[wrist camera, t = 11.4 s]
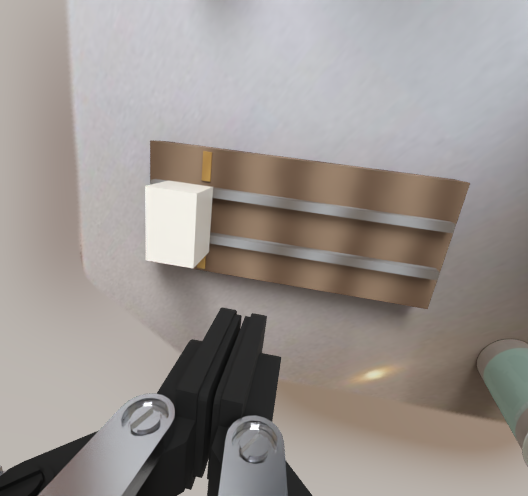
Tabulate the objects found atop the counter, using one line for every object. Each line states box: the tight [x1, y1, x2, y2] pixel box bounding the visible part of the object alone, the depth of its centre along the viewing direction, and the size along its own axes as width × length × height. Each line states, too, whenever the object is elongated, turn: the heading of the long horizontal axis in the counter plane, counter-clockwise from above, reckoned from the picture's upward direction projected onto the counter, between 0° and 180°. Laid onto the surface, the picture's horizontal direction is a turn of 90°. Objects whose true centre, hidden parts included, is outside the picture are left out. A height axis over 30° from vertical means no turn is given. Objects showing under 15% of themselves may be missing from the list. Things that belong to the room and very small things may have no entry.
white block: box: [145, 180, 213, 268], centre depth 26 cm, size 4×6×6 cm, turn 173°
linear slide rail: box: [150, 141, 470, 309], centre depth 30 cm, size 28×12×4 cm, turn 83°
